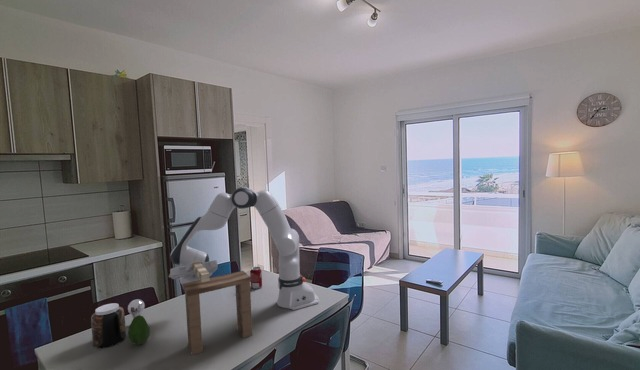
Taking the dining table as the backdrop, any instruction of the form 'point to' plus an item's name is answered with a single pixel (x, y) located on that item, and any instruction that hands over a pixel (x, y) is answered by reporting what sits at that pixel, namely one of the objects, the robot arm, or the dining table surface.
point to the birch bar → (201, 271)
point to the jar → (108, 326)
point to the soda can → (256, 277)
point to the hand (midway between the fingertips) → (196, 264)
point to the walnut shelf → (215, 283)
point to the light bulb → (136, 308)
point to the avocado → (138, 330)
